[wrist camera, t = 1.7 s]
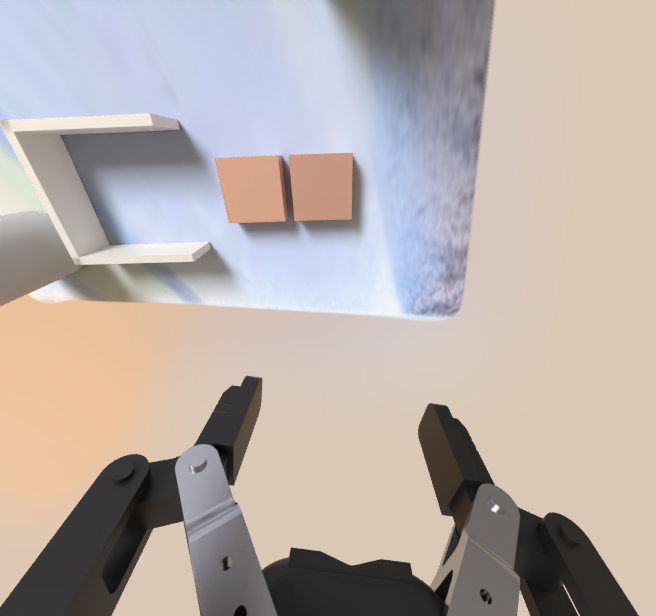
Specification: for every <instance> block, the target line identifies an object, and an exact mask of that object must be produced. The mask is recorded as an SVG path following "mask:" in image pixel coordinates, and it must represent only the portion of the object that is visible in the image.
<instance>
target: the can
mask: <svg viewBox="0 0 656 616" xmlns="http://www.w3.org/2000/svg"><path fill="white" fill-rule="evenodd" d="M81 267H82V265H75V263H74V262H73V260H72V258H71V256H70V254H69V252H68V250H67V249H66V247H65V245H64V243H63V241H62V239H61V237H60V235H59V234H58V232H57V230H56V228H55V226H54V224H53V222H52V221H51V219H50V217H49V215H48V214H46V213H42V212H37V211H25V212H19V213H13V214H8V215H3V216H0V306H2V305H4V304H6V303H8V302H11V301H13V300H15V299H17V298H19V297H22V296H24V295H26V294H28V293H30V292H33V291H35V290H37V289H39V288H41V287H44V286H46V285H48V284H50V283H52V282H54V281H57V280H59V279H61V278H63V277H65V276H68V275H70V274H72V273H74V272H76V271H78V270H79V269H80V268H81Z"/></svg>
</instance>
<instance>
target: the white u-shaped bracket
mask: <svg viewBox="0 0 656 616" xmlns="http://www.w3.org/2000/svg"><path fill="white" fill-rule="evenodd" d="M0 126H1V127H2V129H3V131H4V133H5V135H6V137H7V139H8V140H9V142H10V144H11V146H12V148H13V150H14V152H15V154H16V155H17V157H18V159H19V161H20V163H21V165H22V167H23V168H24V170H25V172H26V174H27V176H28V178H29V180H30V181H31V183H32V185H33V187H34V189H35V191H36V193H37V195H38V196H39V198H40V200H41V202H42V204H43V206H44V208H45V209H46V211H47V213H48V215H49V217H50V219H51V221H52V222H53V224H54V226H55V228H56V230H57V232H58V234H59V235H60V237H61V239H62V241H63V243H64V245H65V247H66V249H67V250H68V252H69V254H70V256H71V258H72V260H73V262H74V263H75V265H93V264H128V263H164V262H194V261H195V260H197V259H198V258H199V257H201V256H202V255H203V254H205V253H206V252H207V251H208V250H210V249H211V247H210V243H209V242H189V243H156V244H123V245H110V244H109V241H108V239H107V237H106V235H105V232H104V230H103V228H102V226H101V224H100V221H99V219H98V217H97V215H96V212H95V210H94V208H93V206H92V204H91V201H90V199H89V197H88V195H87V192H86V190H85V188H84V186H83V184H82V181H81V179H80V177H79V175H78V172H77V170H76V168H75V166H74V164H73V161H72V159H71V157H70V155H69V152H68V150H67V148H66V146H65V144H64V141H63V139H62V137H61V135H73V134H96V133H119V132H142V131H164V130H180V127H179V123H178V120H176V119H172V118H167V117H163V116H158V115H154V114H150V113H149V114H128V115H106V116H84V117H62V118H40V119H18V120H0Z"/></svg>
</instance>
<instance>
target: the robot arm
mask: <svg viewBox="0 0 656 616" xmlns="http://www.w3.org/2000/svg"><path fill="white" fill-rule="evenodd" d="M261 396H262V378H258V377H251V376H246V377H245V378H244V380H243V382H242V385H241V387H240V386H231V387H230V388H229V389H227V390H226V391H225V392H224V393H223V394H222V396H221V398H220V400H219V402H218V404H217V405H216V407H215V409H214V412H213V413H212V415H211V417H210V418H209V420H208V422H207V424H206V425H205V427H204V429H203V431H202V433H201V434H200V436H199V438H198V440H197V442H196V443H195V445H194V446H193V447H191V448H189V449H188V450H186V451H185V452H183V454H182V455H181V456H179V457H176V458H173V459H169V460H163V461H157V462H151V463H149V462H148V460H147V459H146V457H144V456H142V455H138V454H132V455H127V456H123V457H121V458H119V459H117V460H115V461H113V462H112V463H110V464H109V465H108V466H107V467H106V468H105V469H104V470H103V471H102V472H101V473H100V475H99V476H98V477H97V479H96V480H95V481H94V483H93V484H92V485H91V487H90V488H89V489H88V491H87V492H86V494H85V495H84V496H83V497H82V499H81V500H80V501H79V503H78V504H77V506H76V507H75V508H74V510H73V511H72V512H71V514H70V515H69V516H68V518H67V519H66V520H65V522H64V523H63V524H62V526H61V527H60V528H59V530H58V531H57V532H56V534H55V535H54V536H53V538H52V539H51V540H50V542H49V543H48V544H47V546H46V547H45V548H44V550H43V551H42V552H41V554H40V555H39V556H38V558H37V559H36V561H35V562H34V563H33V564H32V566H31V567H30V568H29V570H28V571H27V572H26V574H25V575H24V576H23V578H22V579H21V580H20V582H19V583H18V584H17V586H16V587H15V588H14V590H13V591H12V592H11V594H10V595H9V597H8V598H7V599H6V600H5V602H4V603H3V604H2V606H1V607H0V616H111V615H112V613H113V611H114V609H115V607H116V605H117V603H118V601H119V599H120V596H121V594H122V592H123V590H124V588H125V586H126V584H127V582H128V580H129V578H130V576H131V574H132V572H133V570H134V568H135V565H136V563H137V561H138V559H139V557H140V555H141V553H142V551H143V549H144V547H145V545H146V543H147V540H148V539H149V536H150V534H151V532H152V530H153V528H157V527H161V526H165V525H169V524H173V523H178V522H182V521H184V527H185V532H186V538H187V543H188V549H189V554H190V559H191V565H192V570H193V575H194V582H195V587H196V593H197V599H198V604H199V610H200V615H201V616H517V609H518V601H519V591H520V590H521V593H522V595H523V598H524V600H525V603H526V606H527V608H528V611H529V613H530V616H578V614H577V612H576V610H575V608H574V606H573V604H572V602H571V601H570V599H569V597H568V595H567V593H566V591H565V589H564V587H563V584H564V585H565V587H566V589H567V591H568V593H569V595H570V597H571V599H572V601H573V603H574V605H575V607H576V609H577V611H578V613H579V615H580V616H639V615H638V614H637V612H636V611H635V609H634V608H633V606H632V605H631V603H630V601H629V600H628V599H627V597H626V595H625V594H624V592H623V591H622V589H621V588H620V586H619V584H618V583H617V581H616V580H615V578H614V577H613V575H612V574H611V572H610V570H609V569H608V567H607V566H606V565H605V563H604V561H603V560H602V558H601V557H600V555H599V553H598V552H597V550H596V549H595V547H594V546H593V544H592V543H591V541H590V540H589V538H588V537H587V536H586V534H585V533H584V532H583V531H582V530H581V529H580V528H579V527H578V526H577V525H576V524H575V523H574V522H572V521H571V520H570V519H568V518H567V517H565V516H563V515H561V514H558V513H548V514H547V515H546V516H545V517H544V518H543V519H542V518H540V517H538V516H536V515H534V514H531V513H529V512H527V511H525V510H523V509H520V508H519V507H517V505H516V504H515V502H514V501H513V500H512V498H511V497H510V496H509V495H508V494H507V493H506V492H505V491H503V490H502V489H500V488H499V487H497V486H495V484H494V482H493V480H492V479H491V477H490V475H489V473H488V471H487V469H486V467H485V465H484V463H483V461H482V459H481V457H480V455H479V453H478V451H477V450H476V447H475V445H474V443H473V442H472V439H471V437H470V435H469V433H468V431H467V429H466V428H465V427H464V425H463V424H462V423H461V422H460V421H459V420H458V419H456V418H453V417H452V415H451V413H450V410H449V408H448V407H447V406H446V405H439V404H432V403H431V404H429V405H428V406H427V408H426V410H425V413H424V415H423V417H422V420H421V422H420V425H419V429H418V435H419V441H420V444H421V447H422V450H423V454H424V457H425V460H426V464H427V467H428V470H429V474H430V477H431V480H432V484H433V487H434V490H435V493H436V497H437V500H438V503H439V507H440V510H441V513H442V515H446V516H453V519H454V522H455V524H454V526H453V527H452V530H451V533H450V536H449V539H448V542H447V545H446V548H445V551H444V554H443V557H442V560H441V563H440V566H439V569H438V571H437V574H436V576H435V578H434V580H433V582H432V584H431V586H430V587H429V586H428V585H427V584H426V583H424V582H423V581H422V580H420V579H419V578H417V577H416V576H414V575H412V570H411V565H410V563H405V562H398V561H390V560H383V559H381V560H376V561H371V562H367V563H363V564H359V565H353V566H351V565H348V564H346V563H344V562H341V561H339V560H337V559H335V558H333V557H331V556H329V555H327V554H325V553H323V552H321V551H314V550H313V551H312V550H306V549H298V548H291V551H290V556H289V557H288V558H284V559H281V560H278V561H276V562H274V563H272V564H270V565H268V566H267V567H265V568H264V569H263V570H261V567H260V564H259V561H258V558H257V555H256V553H255V549H254V547H253V544H252V541H251V538H250V535H249V532H248V529H247V526H246V523H245V520H244V517H243V515H242V512H241V509H240V507H239V505H238V503H235V501H234V499H233V496H232V493H231V490H230V487H229V485H234V484H235V480H236V477H237V475H238V472H239V469H240V466H241V464H242V461H243V458H244V455H245V452H246V449H247V446H248V443H249V441H250V438H251V435H252V432H253V429H254V426H255V423H256V421H257V418H258V415H259V411H260V406H261Z"/></svg>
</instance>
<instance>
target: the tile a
mask: <svg viewBox="0 0 656 616" xmlns="http://www.w3.org/2000/svg"><path fill="white" fill-rule="evenodd" d="M215 162H216V166H217V171H218V176H219V180H220V185H221V189H222V194H223V198H224V203H225V208H226V212H227V217H228V221H229V223H250V222H280V221H286V219H287V218H288V211H287V202H286V192H285V183H284V174H283V164H282V155H281V156H257V157H233V158H215Z"/></svg>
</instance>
